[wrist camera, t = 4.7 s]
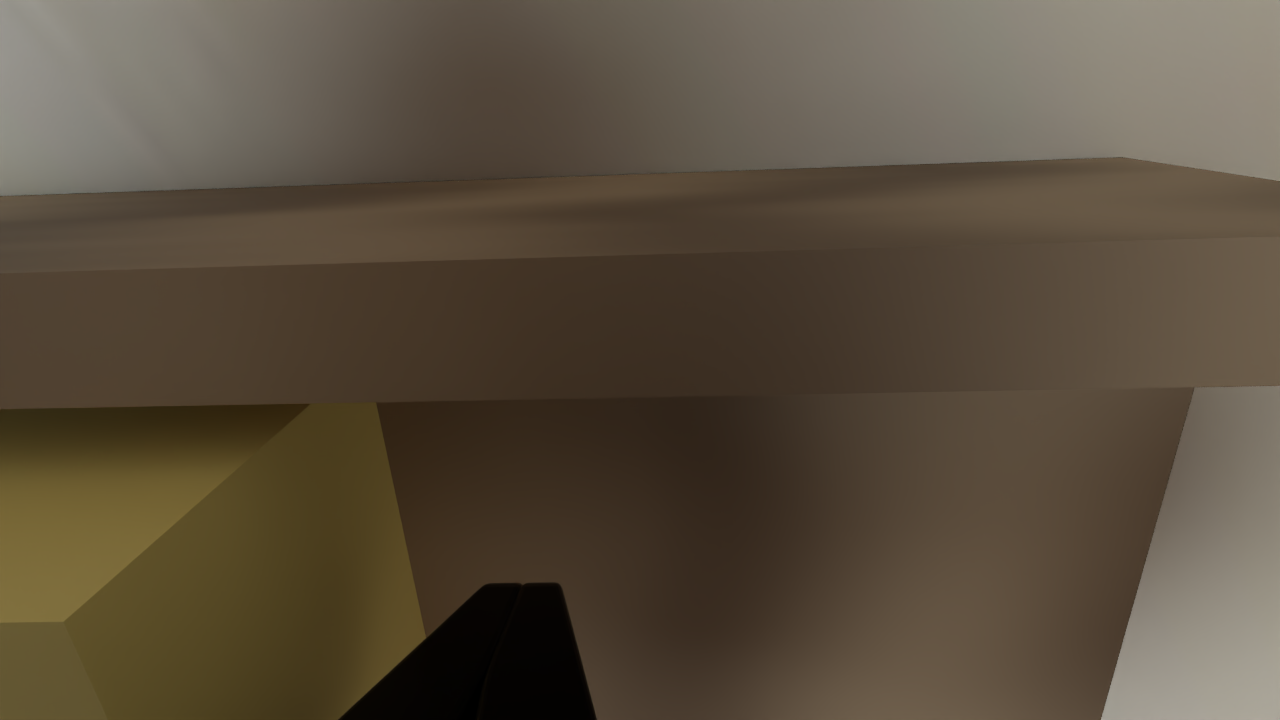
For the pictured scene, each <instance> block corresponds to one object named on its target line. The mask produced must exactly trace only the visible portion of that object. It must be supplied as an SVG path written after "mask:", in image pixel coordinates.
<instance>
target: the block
mask: <svg viewBox="0 0 1280 720" xmlns="http://www.w3.org/2000/svg"><path fill="white" fill-rule="evenodd" d="M425 638H426V635H425V630H424V626H423V621H422V616H421V612H420V607H419V602H418V598H417V593H416V588H415V583H414V579H413V574H412V569H411V565H410V560H409V555H408V551H407V546H406V541H405V536H404V532H403V527H402V522H401V518H400V513H399V508H398V503H397V499H396V494H395V489H394V485H393V480H392V475H391V471H390V466H389V461H388V456H387V452H386V447H385V442H384V438H383V433H382V428H381V423H380V419H379V414H378V409H377V405H376V402H363V403H308V404H254V405H199V406H145V407H91V408H36V409H0V720H338V719H339V718H340V717H341V716H342V715H343V714H344V713H345V712H347V711H348V710H349V709H350V708H351V707H352V706H353V705H354V704H355V703H356V702H357V701H358V700H360V699H361V698H362V697H363V696H364V695H365V694H366V693H367V692H368V691H369V690H370V689H371V688H372V687H374V686H375V685H376V684H377V683H378V682H379V681H380V680H381V679H382V678H383V677H384V676H385V675H386V674H388V673H389V672H390V671H391V670H392V669H393V668H394V667H395V666H396V665H397V664H398V663H399V662H401V661H402V660H403V659H404V658H405V657H406V656H407V655H408V654H409V653H410V652H411V651H412V650H413V649H415V648H416V647H417V646H418V645H419V644H420V643H421V642H422V641H423V640H424V639H425Z"/></svg>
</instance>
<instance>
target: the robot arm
mask: <svg viewBox="0 0 1280 720" xmlns="http://www.w3.org/2000/svg"><path fill="white" fill-rule="evenodd" d="M338 720H597V717H596V713H595V710H594V706H593V702H592V698H591V695H590V691H589V687H588V683H587V679H586V676H585V672H584V668H583V664H582V660H581V657H580V653H579V649H578V645H577V642H576V638H575V634H574V630H573V626H572V623H571V619H570V615H569V611H568V607H567V604H566V600H565V596H564V592H563V589H562V586H561V585H560V584H559V583H556V582H538V583H525V584H524V585H522V584H521V583H488V584H485V585H483V586H482V587H481V588H479V589H478V590H477V591H476V592H475V593H474V594H473V595H472V596H471V597H470V598H469V599H467V600H466V601H465V602H464V603H463V604H462V605H461V606H460V607H459V608H458V609H457V610H456V611H455V612H453V613H452V614H451V615H450V616H449V617H448V618H447V619H446V620H445V621H444V622H443V623H442V624H440V625H439V626H438V627H437V628H436V629H435V630H434V631H433V632H432V633H431V634H430V635H429V636H428V637H426V638H425V639H424V640H423V641H422V642H421V643H420V644H419V645H418V646H417V647H416V648H415V649H413V650H412V651H411V652H410V653H409V654H408V655H407V656H406V657H405V658H404V659H403V660H402V661H401V662H399V663H398V664H397V665H396V666H395V667H394V668H393V669H392V670H391V671H390V672H389V673H388V674H386V675H385V676H384V677H383V678H382V679H381V680H380V681H379V682H378V683H377V684H376V685H375V686H374V687H372V688H371V689H370V690H369V691H368V692H367V693H366V694H365V695H364V696H363V697H362V698H361V699H360V700H358V701H357V702H356V703H355V704H354V705H353V706H352V707H351V708H350V709H349V710H348V711H347V712H345V713H344V714H343V715H342V716H341V717H340V718H339V719H338Z"/></svg>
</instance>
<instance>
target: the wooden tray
mask: <svg viewBox="0 0 1280 720" xmlns="http://www.w3.org/2000/svg"><path fill="white" fill-rule="evenodd" d="M1233 386H1280V181H1274V180H1268V179H1261V178H1255V177H1248V176H1241V175H1235V174H1228V173H1222V172H1215V171H1208V170H1202V169H1195V168H1189V167H1182V166H1175V165H1169V164H1162V163H1156V162H1149V161H1142V160H1136V159H1129V158H1123V157H1122V158H1093V159H1064V160H1035V161H1006V162H977V163H948V164H920V165H891V166H862V167H833V168H804V169H775V170H746V171H717V172H689V173H660V174H631V175H602V176H573V177H544V178H515V179H486V180H457V181H429V182H400V183H371V184H342V185H313V186H284V187H255V188H226V189H198V190H169V191H140V192H111V193H82V194H53V195H24V196H0V409H36V408H91V407H145V406H199V405H254V404H308V403H363V402H376V405H377V409H378V414H379V419H380V423H381V428H382V433H383V438H384V442H385V447H386V452H387V456H388V461H389V466H390V471H391V475H392V480H393V485H394V489H395V494H396V499H397V503H398V508H399V513H400V518H401V522H402V527H403V532H404V536H405V541H406V546H407V551H408V555H409V560H410V565H411V569H412V574H413V579H414V583H415V588H416V593H417V598H418V602H419V607H420V612H421V616H422V621H423V626H424V630H425V635H426V637H428V636H429V635H430V634H431V633H432V632H433V631H434V630H435V629H436V628H437V627H438V626H439V625H440V624H442V623H443V622H444V621H445V620H446V619H447V618H448V617H449V616H450V615H451V614H452V613H453V612H455V611H456V610H457V609H458V608H459V607H460V606H461V605H462V604H463V603H464V602H465V601H466V600H467V599H469V598H470V597H471V596H472V595H473V594H474V593H475V592H476V591H477V590H478V589H479V588H481V587H482V586H483V585H485V584H488V583H521V584H522V585H524V584H525V583H538V582H556V583H559V584H560V585H561V586H562V589H563V592H564V596H565V600H566V604H567V607H568V611H569V615H570V619H571V623H572V626H573V630H574V634H575V638H576V642H577V645H578V649H579V653H580V657H581V660H582V664H583V668H584V672H585V676H586V679H587V683H588V687H589V691H590V695H591V698H592V702H593V706H594V710H595V713H596V717H597V720H1101V717H1102V713H1103V710H1104V706H1105V703H1106V699H1107V696H1108V692H1109V688H1110V685H1111V681H1112V678H1113V674H1114V671H1115V667H1116V664H1117V660H1118V657H1119V653H1120V649H1121V646H1122V642H1123V639H1124V635H1125V632H1126V628H1127V625H1128V621H1129V618H1130V614H1131V611H1132V607H1133V603H1134V600H1135V596H1136V593H1137V589H1138V586H1139V582H1140V579H1141V575H1142V572H1143V568H1144V564H1145V561H1146V557H1147V554H1148V550H1149V547H1150V543H1151V540H1152V536H1153V533H1154V529H1155V525H1156V522H1157V518H1158V515H1159V511H1160V508H1161V504H1162V501H1163V497H1164V494H1165V490H1166V487H1167V483H1168V479H1169V476H1170V472H1171V469H1172V465H1173V462H1174V458H1175V455H1176V451H1177V448H1178V444H1179V440H1180V437H1181V433H1182V430H1183V426H1184V423H1185V419H1186V416H1187V412H1188V409H1189V405H1190V402H1191V398H1192V394H1193V391H1194V387H1233Z"/></svg>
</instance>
